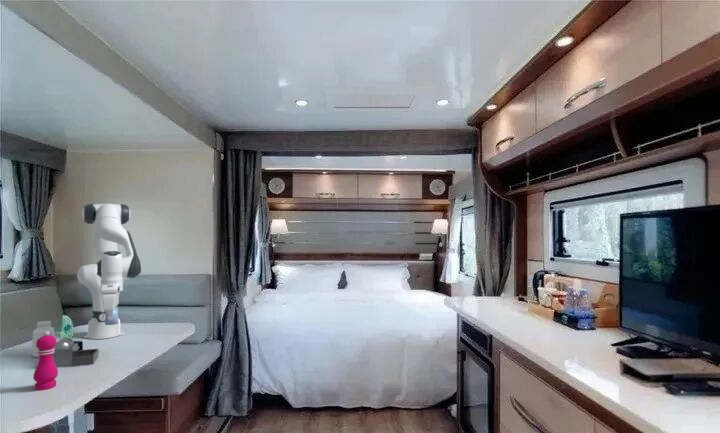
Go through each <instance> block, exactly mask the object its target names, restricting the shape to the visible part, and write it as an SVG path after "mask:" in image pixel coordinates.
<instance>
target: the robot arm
mask: <svg viewBox="0 0 720 433" xmlns="http://www.w3.org/2000/svg"><path fill="white" fill-rule="evenodd" d="M131 214H132V212H131V210H130V207H129V206H128V205H127V204H123V203H120V204H118V203H108V202H107V203H89V204H86V205H84V206H83V208H82V211H81V217H82V220H83V221H84V223H86V224H89V225H94V230H93V252H94V254H96V255H97V256H99V257H101V259H100V260H99V261H98V262H96V263H90V264H85V265H82V266H80V267H79V269H78V270H77V273H76V277H77V281H79V283H80V284H82V285H84V286H85V287H86V288H87V289H88V290H89V292H90V294H91V296H92V297H91V298H92V310H91V319H90V320H89V321H88V324H87V325H88V326H87V334H85V335H84V336H83V338H84V339H91V340H101V339H109V338H110V339H111V338H115V337H119V336H123V335H125V331H124V329H123V328H122V325H121V319H120V318H119V317H118V324H115V325H105V311H107V313H108V320H112V319H113V310H114V309H115V307H117V306H119V303H120V301H119V300H120V294H121V292H123V291H124V282H126V281H129V279H135V278H136V277H138V276H139V275H140V274H141V273H142V263H141V260H140V258H139V256H138V253H137V248H136V247H135V243H134V241H133V238H132V235H131V233H130V231H129V230H127V229H125V227H123V225H125V224H126V223H128V222H130V219H131ZM118 244H119V245H121V246H122V247H123V248H124V251H125V255H126V256H125V257H123V253H122V252H121V251H119V248H118ZM117 308H118V307H117Z"/></svg>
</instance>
